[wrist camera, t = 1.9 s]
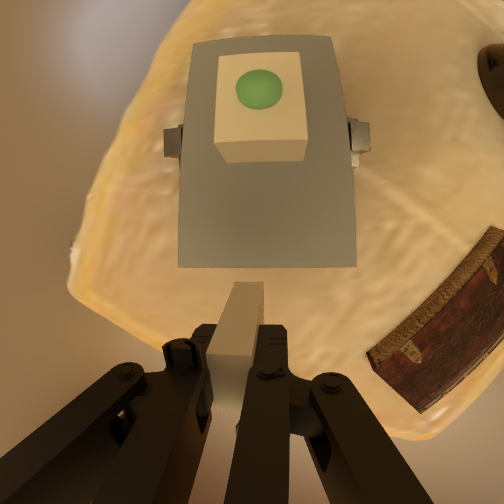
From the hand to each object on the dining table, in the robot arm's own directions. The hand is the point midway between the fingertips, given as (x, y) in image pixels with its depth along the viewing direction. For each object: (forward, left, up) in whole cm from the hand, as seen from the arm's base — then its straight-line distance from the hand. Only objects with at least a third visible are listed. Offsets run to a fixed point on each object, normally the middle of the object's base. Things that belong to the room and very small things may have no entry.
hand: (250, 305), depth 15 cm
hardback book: (-20, +30, -22) cm, 42 cm away
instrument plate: (-6, -9, -15) cm, 18 cm away
